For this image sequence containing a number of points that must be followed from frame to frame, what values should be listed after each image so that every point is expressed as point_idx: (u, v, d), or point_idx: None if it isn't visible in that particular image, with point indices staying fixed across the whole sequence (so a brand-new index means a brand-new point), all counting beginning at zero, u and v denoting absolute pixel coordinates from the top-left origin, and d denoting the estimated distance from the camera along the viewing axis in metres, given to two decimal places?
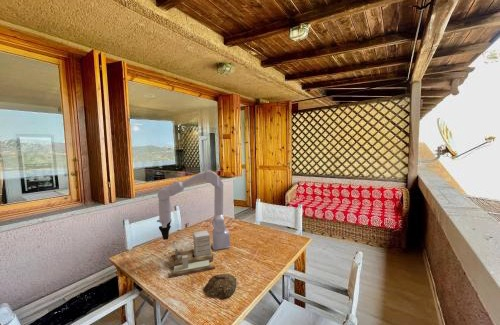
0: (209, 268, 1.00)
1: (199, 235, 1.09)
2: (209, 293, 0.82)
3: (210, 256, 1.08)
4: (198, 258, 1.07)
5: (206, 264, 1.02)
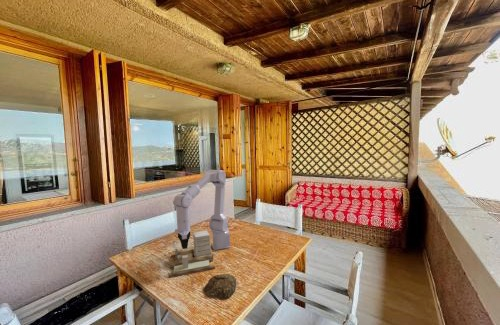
0: (209, 268, 1.00)
1: (199, 235, 1.09)
2: (209, 293, 0.82)
3: (210, 256, 1.08)
4: (198, 258, 1.07)
5: (206, 264, 1.02)
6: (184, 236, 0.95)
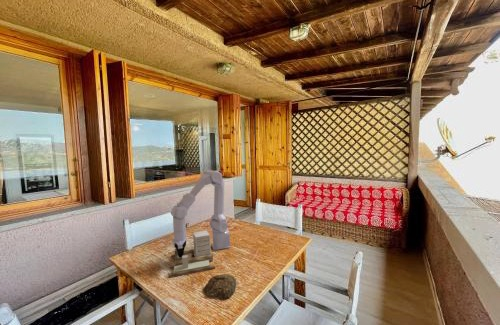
0: (209, 268, 1.00)
1: (199, 235, 1.09)
2: (209, 294, 0.82)
3: (210, 256, 1.08)
4: (198, 258, 1.07)
5: (206, 264, 1.02)
6: (180, 246, 1.01)
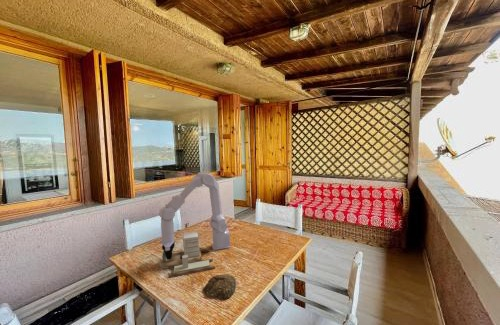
0: (209, 268, 1.00)
1: (188, 236, 1.08)
2: (208, 294, 0.82)
3: (198, 258, 1.07)
4: None
5: (206, 264, 1.02)
6: (167, 248, 1.00)
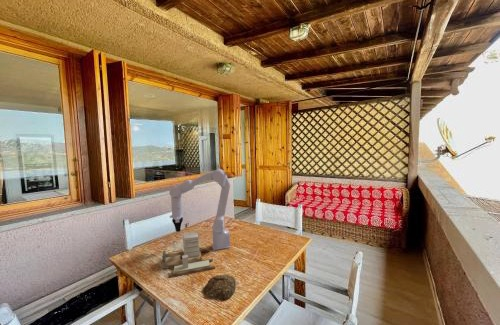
0: (209, 268, 1.00)
1: (188, 236, 1.08)
2: (208, 294, 0.82)
3: (198, 258, 1.07)
4: None
5: (206, 264, 1.02)
6: (177, 220, 1.15)
